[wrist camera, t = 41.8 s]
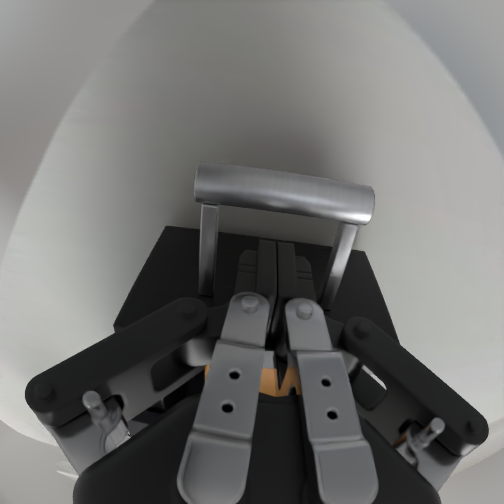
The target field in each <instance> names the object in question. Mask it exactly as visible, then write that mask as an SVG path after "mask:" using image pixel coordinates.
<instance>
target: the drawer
mask: <svg viewBox="0 0 504 504" xmlns="http://www.w3.org/2000/svg"><path fill="white" fill-rule="evenodd" d="M194 198H195V201H196V202H201V203H202V205H201V226H200V230H199V229H191V228H182V227H174V226H166V227H165V228H164V230H163V232H162V234H161V235H160V237H159V239H158V241H157V242H156V244H155V246H154V248H153V250H152V251H151V253H150V255H149V257H148V259H147V260H146V262H145V264H144V266H143V268H142V270H141V272H140V273H139V275H138V277H137V279H136V281H135V283H134V285H133V287H132V289H131V291H130V293H129V294H128V296H127V298H126V300H125V302H124V304H123V306H122V308H121V310H120V312H119V314H118V316H117V318H116V320H115V322H114V325H113V327H114V331H115V333H116V332H118V331H120V330H121V329H123V328H125V327H127V326H129V325H131V324H132V323H134V322H136V321H138V320H140V319H142V318H143V317H145V316H147V315H149V314H151V313H153V312H154V311H156V310H158V309H160V308H162V307H164V306H165V305H167V304H169V303H171V302H173V301H174V300H177V299H179V298H183V297H192V298H196V299H199V300H201V301H202V302H204V303H205V304H206V306H207V307H208V308H211V307H219V306H222V305H225V304H226V303H228V302H229V301H230V300H231V299H232V297H233V296H234V290H235V284H236V277H237V271H238V264H239V258H240V255H241V254H242V253H243V252H244V251H245V250H254V251H258V244H259V240H267V241H274V242H276V244H277V242H283V243H290V244H294V248H295V256H302V257H305V258H306V259H307V261H308V262H309V263H310V265H311V271H312V278H313V284H314V290H315V297H316V303H317V304H318V305H319V306H320V307H321V308H322V310H323V313H324V315H325V316H327V317H328V318H330V319H333V320H335V321H338V322H341V323H344V324H345V322H346V321H347V320H348V319H349V318H351V317H363V318H366V319H369V320H370V321H372V322H373V323H375V324H376V325H377V326H378V327H379V328H381V329H382V330H383V331H384V332H385V333H387V334H388V335H389V336H390V337H391V338H393V339H394V340H395V341H396V342H397V343H399V340H398V337H397V334H396V331H395V328H394V325H393V323H392V320H391V317H390V314H389V311H388V309H387V306H386V303H385V301H384V298H383V295H382V293H381V290H380V288H379V285H378V283H377V280H376V278H375V275H374V273H373V270H372V268H371V265H370V263H369V260H368V258H367V256H366V253H365V252H364V251H358V250H351V249H352V246H353V243H354V240H355V237H356V234H357V230H358V227H359V226H358V224H361V225H366V224H368V223H369V221H370V220H371V217H372V214H373V211H374V205H375V195H374V191H373V189H372V187H370V186H365V185H360V184H355V183H350V182H344V181H339V180H333V179H327V178H322V177H316V176H309V175H303V174H297V173H290V172H283V171H276V170H269V169H262V168H254V167H246V166H238V165H229V164H220V163H210V162H200V163H199V165H198V168H197V171H196V176H195V183H194ZM220 205H227V206H235V207H243V208H251V209H259V210H266V211H274V212H281V213H288V214H295V215H302V216H309V217H316V218H323V219H329V220H336V221H340V223H339V227H338V230H337V234H336V237H335V241H334V244H333V247H330V246H322V245H315V244H308V243H300V242H293V241H285V240H278V239H270V238H262V237H255V236H247V235H239V234H231V233H223V232H218V226H219V213H220ZM399 344H400V343H399ZM264 347H265V353H264V361H263V368H268V369H274V365H273V354H274V350H275V341H272V340H269V333H268V338H267V340H265V345H264ZM363 369H364V370H365V371H366V372H367V373H368V374H373V373H372V372H371V371H370V370H369V369H368V368H367V367H366V366H365V365H364V367H363ZM204 384H205V368H204V369H203V370H202V371H201V372H199V373H198V374H197V375H195V376H194V377H192V378H191V379H190V380H188V381H187V382H185V383H184V384H182V385H181V386H180V387H178V388H177V389H175V390H174V391H172V392H171V393H169V394H168V395H167V396H165V397H164V398H162V399H161V400H159V401H158V402H156V403H155V404H153V405H152V406H151V408H152V411H153V412H155V413H159V414H163V413H165V412H166V411H167V410H169V409H170V408H171V407H173V406H174V405H175V404H177V403H178V402H180V401H181V400H183V399H185V398H187V397H190V396H192V395H196V394H199V393H202V391H203V388H204Z"/></svg>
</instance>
